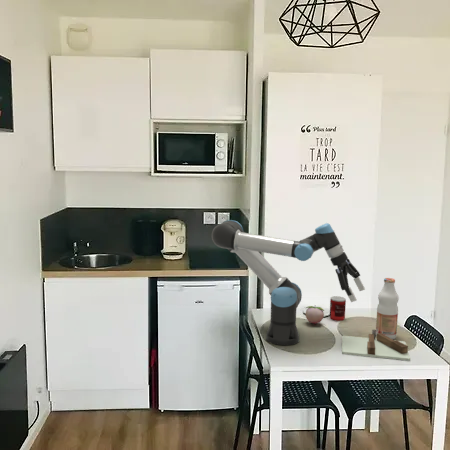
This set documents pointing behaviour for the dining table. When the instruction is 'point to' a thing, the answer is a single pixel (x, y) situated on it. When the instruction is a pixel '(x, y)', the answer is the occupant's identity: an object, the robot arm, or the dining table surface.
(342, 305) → the canned food
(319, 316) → the decorative fruit
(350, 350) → the board
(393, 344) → the arm
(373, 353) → the tongs fixed
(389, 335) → the fruit juice
